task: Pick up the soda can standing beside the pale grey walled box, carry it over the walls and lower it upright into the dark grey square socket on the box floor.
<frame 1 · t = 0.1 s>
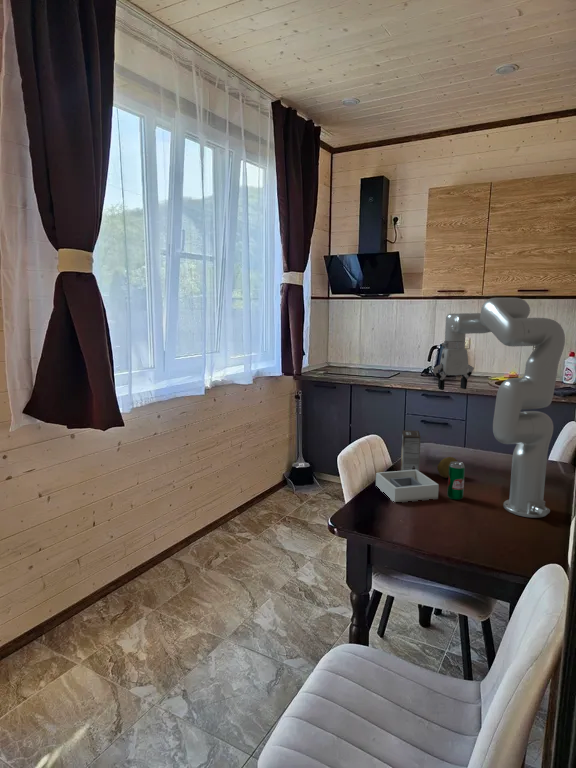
hand: (452, 389, 192), 31 cm above the table, tool pointing down, fingers open, 9 cm apart
coffee box: (409, 474, 187), on the table
soda can: (455, 498, 164), on the table
walled box: (405, 492, 168), on the table
potato: (447, 478, 183), on the table
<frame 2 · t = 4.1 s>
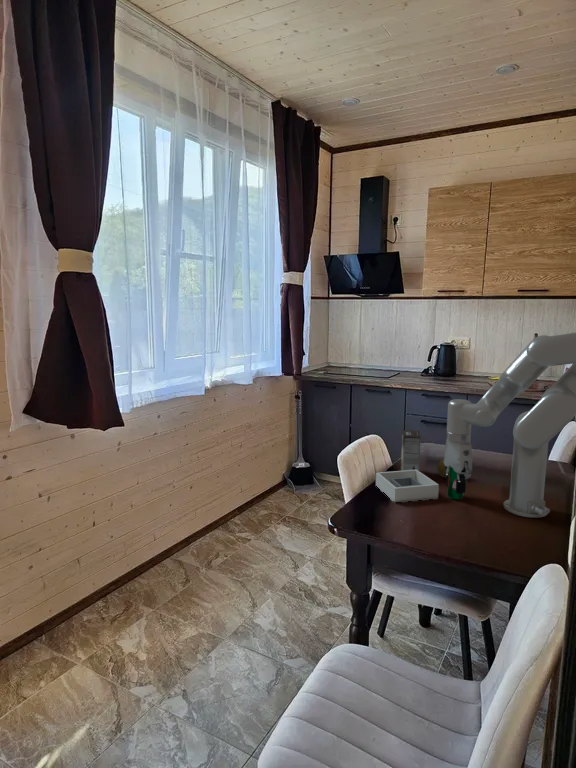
hand: (455, 489, 163), 3 cm above the table, tool pointing down, fingers closed on soda can, 5 cm apart
soda can: (455, 498, 164), on the table, touching gripper
everything else where it was.
when the fingers open (6 cm above the table, at t = 10.3 s): soda can drops 2 cm, resting on walled box.
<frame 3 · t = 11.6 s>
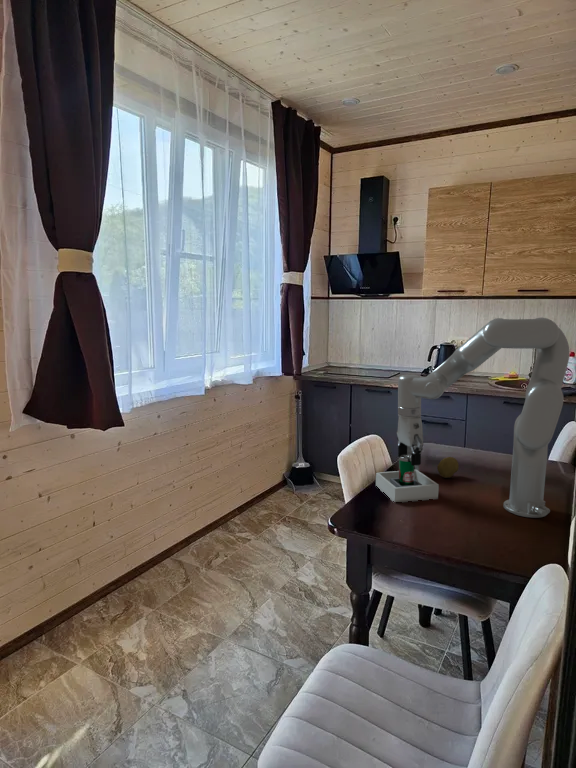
hand: (409, 460, 166), 11 cm above the table, tool pointing down, fingers open, 9 cm apart
soda can: (406, 490, 168), point 1 cm above the table, touching walled box
everything else where it was.
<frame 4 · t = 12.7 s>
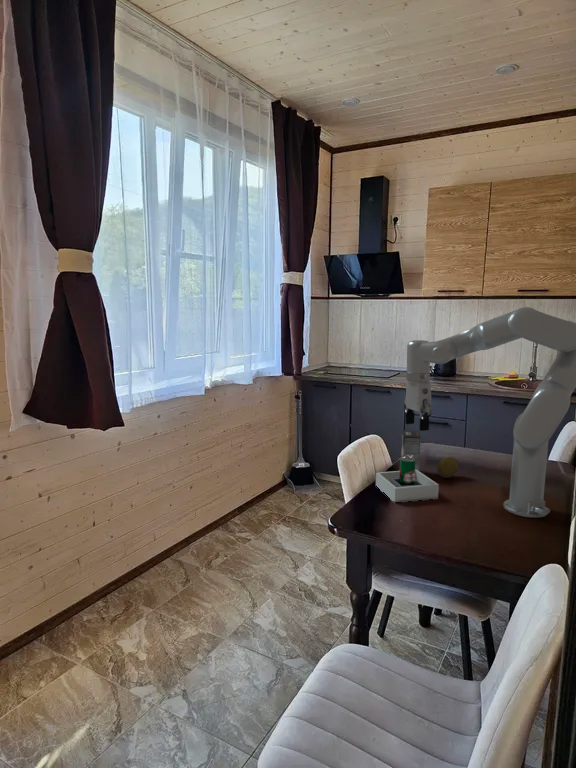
hand: (416, 426, 166), 23 cm above the table, tool pointing down, fingers open, 9 cm apart
nothing on the table moved.
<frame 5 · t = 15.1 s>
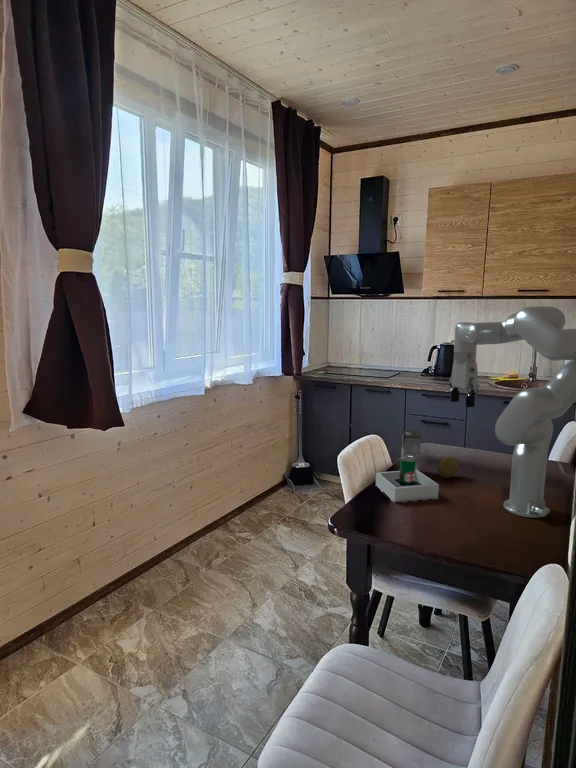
hand: (462, 404, 177), 28 cm above the table, tool pointing down, fingers open, 9 cm apart
nothing on the table moved.
at the end: soda can 0.2 cm off-centre on the walled box, point 0.6 cm above the walled box's base; soda can tilted 1°; the gripper is holding nothing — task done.
